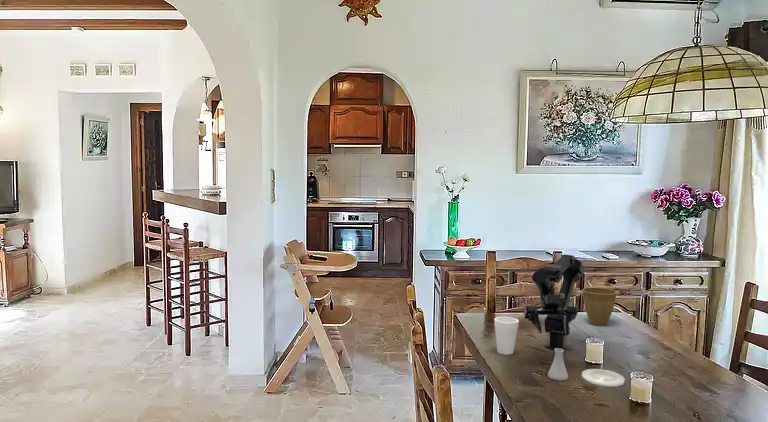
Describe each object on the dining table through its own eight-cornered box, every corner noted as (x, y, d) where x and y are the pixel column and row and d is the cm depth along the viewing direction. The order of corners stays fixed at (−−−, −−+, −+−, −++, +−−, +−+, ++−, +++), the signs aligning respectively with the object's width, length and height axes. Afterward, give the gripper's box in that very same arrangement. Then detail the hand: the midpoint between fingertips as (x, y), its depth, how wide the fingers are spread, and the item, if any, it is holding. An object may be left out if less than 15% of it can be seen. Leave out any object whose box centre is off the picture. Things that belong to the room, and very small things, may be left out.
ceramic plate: (591, 368, 209) (591, 365, 209) (630, 379, 200) (630, 376, 200) (575, 378, 199) (575, 375, 199) (615, 390, 189) (615, 387, 189)
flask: (569, 382, 196) (571, 354, 195) (548, 380, 197) (549, 352, 196) (567, 374, 203) (568, 347, 202) (546, 372, 204) (547, 345, 203)
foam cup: (503, 357, 219) (504, 324, 218) (488, 349, 227) (489, 318, 226) (522, 353, 224) (523, 321, 223) (507, 346, 232) (508, 315, 231)
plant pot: (615, 321, 272) (617, 289, 270) (614, 330, 258) (616, 295, 257) (582, 317, 278) (584, 285, 276) (579, 325, 264) (581, 291, 263)
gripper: (526, 284, 211) (531, 322, 201) (577, 285, 210) (585, 323, 200) (521, 299, 220) (526, 336, 210) (570, 300, 219) (577, 338, 209)
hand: (553, 333), depth 207 cm, fingers open, 9 cm apart
